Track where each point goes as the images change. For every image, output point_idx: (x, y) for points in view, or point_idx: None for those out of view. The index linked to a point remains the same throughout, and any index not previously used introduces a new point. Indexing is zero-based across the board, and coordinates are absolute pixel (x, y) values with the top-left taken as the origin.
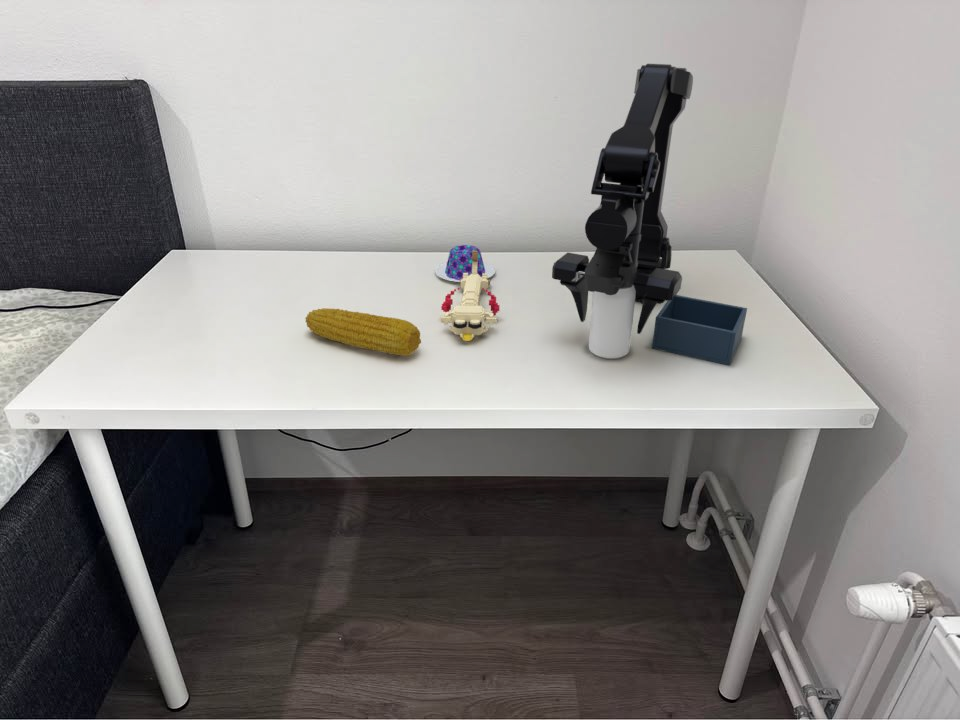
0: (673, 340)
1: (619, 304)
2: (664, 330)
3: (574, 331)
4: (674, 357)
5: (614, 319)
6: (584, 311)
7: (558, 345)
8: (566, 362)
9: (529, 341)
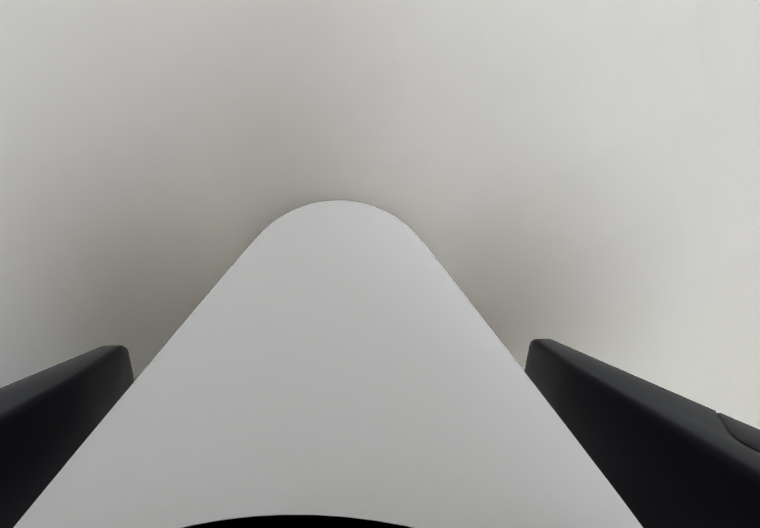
0: None
1: (97, 452)
2: None
3: None
4: (36, 370)
5: (241, 291)
6: (569, 400)
7: (573, 237)
8: (498, 78)
9: (709, 214)
